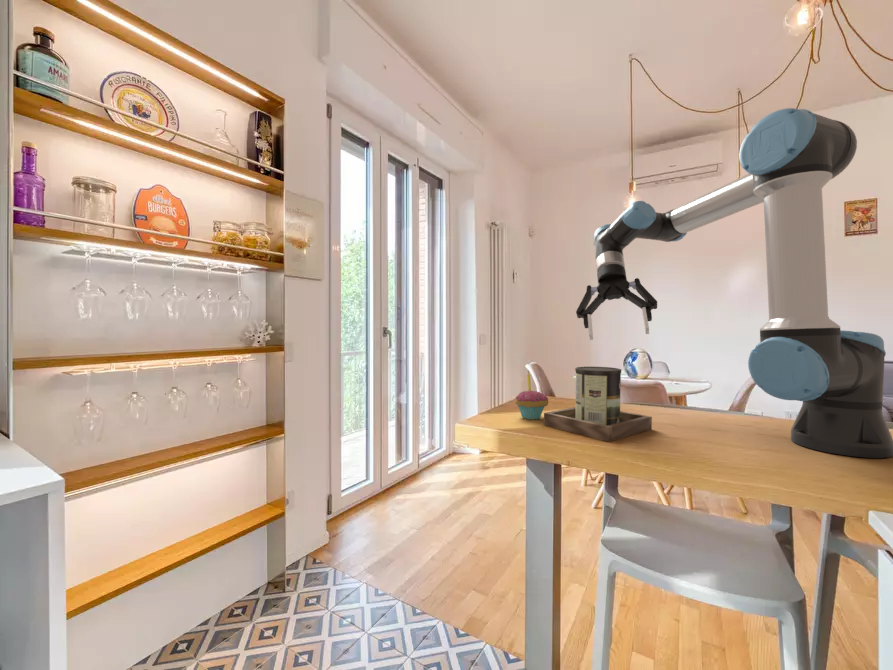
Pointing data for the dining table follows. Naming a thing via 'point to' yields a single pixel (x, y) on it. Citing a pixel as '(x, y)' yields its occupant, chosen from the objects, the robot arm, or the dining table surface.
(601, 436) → the dark brown wooden tray
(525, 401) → the cupcake
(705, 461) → the dining table surface
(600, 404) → the coffee can
